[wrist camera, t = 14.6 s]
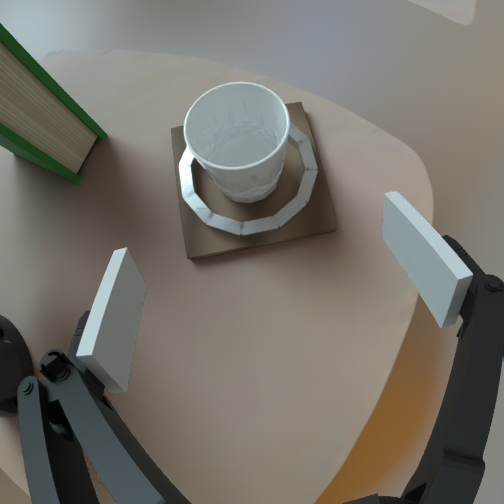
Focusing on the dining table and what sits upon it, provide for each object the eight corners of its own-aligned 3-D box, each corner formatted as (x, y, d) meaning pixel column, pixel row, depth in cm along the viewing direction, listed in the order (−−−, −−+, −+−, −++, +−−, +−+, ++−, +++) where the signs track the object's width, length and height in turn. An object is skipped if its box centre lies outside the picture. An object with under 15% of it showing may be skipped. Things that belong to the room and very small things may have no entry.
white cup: (208, 143, 32) (184, 89, 22) (282, 135, 32) (282, 77, 22) (211, 213, 31) (182, 176, 21) (290, 205, 31) (296, 164, 21)
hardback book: (107, 134, 35) (-7, 15, 12) (79, 184, 35) (-63, 92, 11) (36, 113, 38) (-56, 34, 14) (13, 153, 37) (-90, 86, 13)
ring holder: (191, 260, 32) (183, 256, 29) (174, 134, 34) (166, 122, 31) (335, 231, 31) (340, 224, 28) (300, 108, 34) (302, 94, 31)
